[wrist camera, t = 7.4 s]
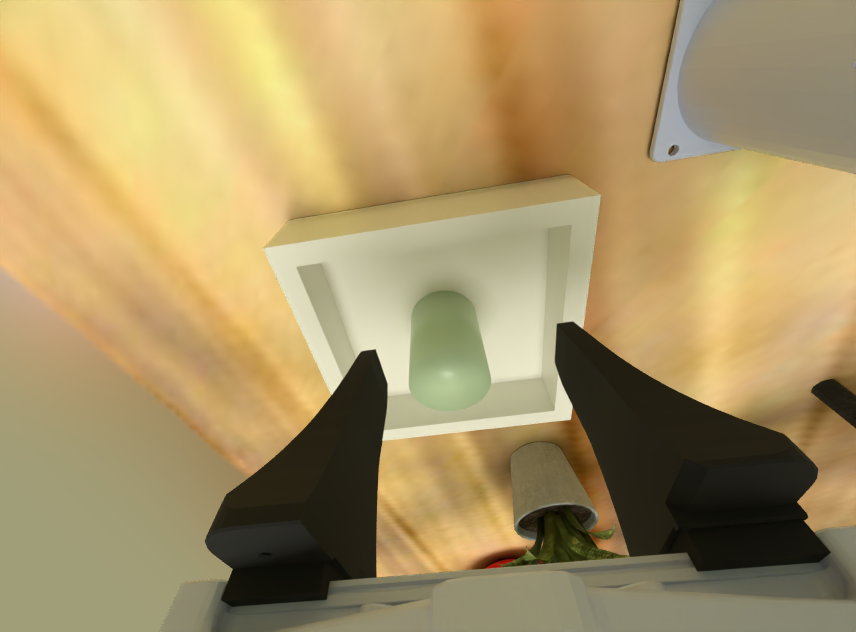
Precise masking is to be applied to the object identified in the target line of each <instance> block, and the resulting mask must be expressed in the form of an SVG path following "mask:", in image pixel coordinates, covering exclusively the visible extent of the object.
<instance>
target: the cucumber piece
mask: <svg viewBox="0 0 856 632" xmlns="http://www.w3.org/2000/svg"><path fill="white" fill-rule="evenodd" d="M490 386H491V375H490V371H489V366H488V362H487V358H486V353H485V349H484V345H483V341H482V336H481V332H480V328H479V324H478V319H477V315H476V311H475V308H474V306H473V304H472V303H471V301H470V300H469V299H468V298H466V297H465V296H463V295H461V294H459V293H457V292H453V291H437V292H433V293H430V294H428V295H426V296H425V297H423V298H422V299H420V300H419V301H418V302H417V304H416V305H415V307H414V309H413V311H412V315H411V336H410V360H409V390H410V392H411V394H412V396H413V397H414V398H415V399H416V400H417V401H418V402H419V403H420V404H422V405H424V406H426V407H428V408H431V409H434V410H439V411H456V410H462V409H465V408H468V407H470V406H473V405H474V404H476V403H478V402H479V401H480V400H482V399H483V398H484V397H485V395H486V394H487V393H488V391H489V389H490Z"/></svg>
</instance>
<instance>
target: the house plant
mask: <svg viewBox="0 0 856 632" xmlns="http://www.w3.org/2000/svg"><path fill="white" fill-rule="evenodd" d="M510 466H511V481H512V497H513V512H514V528H515V531H516V532H517V534H518V535H520V536H521V537H523V538H525V539H528V540H532V541H536V542H535V545H534V546H533V547H532V549H531V550H530V551H529V550H528V548H527V545H526V550H527V552H526V553H525V555H523V556H522V557H520V558H518V559H516V560H514V561H512V562H509V563H507V564H504V565H501V564H498V565H500V566H502V567H514V566H526V565H527V564H528V565H537V563H538V559H542V560H544V564H551V563H564V562H576V561H588V560H601V559H613V558H626V557H630V556H627V555H619V554H616V553H612V552H609V551H606V550H601V549H598V548H597V546H596V545H595V543H594V542H593V540H592V539H591V537H590V535H589V534H588V533H590V534H592V535H594V536H596V537H598V538H601V539H610V538H611V537H612V535H613V533H614V530H615V527H616V525H615V526H614V528H613V529H611V530H607V531H603V532H597V533H591V532H588V531H589V530H590V529H592V528H593V527H594V526H595V525H596V524H597V522H598V518H599V516H598V513H597V511H596V509H595V507H594V506H593V504H592V502H591V500H590V499H589V497H588V495H587V493H586V492H585V490H584V488H583V487H582V485H581V483H580V481H579V480H578V478H577V476H576V474H575V473H574V471H573V469H572V468H571V466H570V464H569V462H568V461H567V459H566V457H565V456H564V454H563V452H562V450H561V449H560V448H559V447H558V446H557V445H555V444H553V443H549V442H534V443H530V444H526V445H524V446H522V447H520V448H519V449H517V450H516V451H515V452H514V453H513V454H512V455H511V457H510ZM542 542H543V545H542ZM541 545H542V549H541ZM540 549H541V551H540ZM495 563H496V562H495Z"/></svg>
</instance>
